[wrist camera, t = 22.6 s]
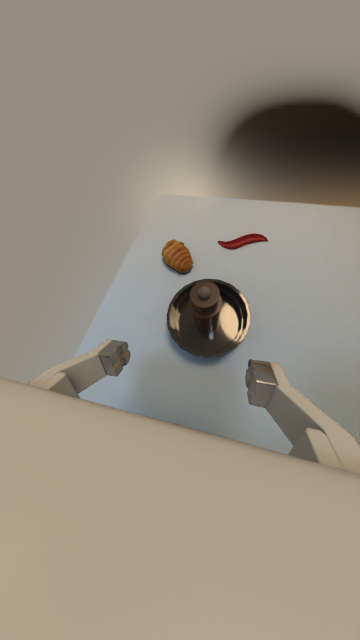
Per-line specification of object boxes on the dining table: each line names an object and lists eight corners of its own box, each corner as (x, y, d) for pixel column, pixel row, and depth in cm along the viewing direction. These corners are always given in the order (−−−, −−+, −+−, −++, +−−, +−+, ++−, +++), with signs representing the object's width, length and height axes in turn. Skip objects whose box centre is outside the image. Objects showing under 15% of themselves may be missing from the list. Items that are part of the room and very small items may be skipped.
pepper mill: (207, 305, 34) (204, 266, 20) (224, 321, 32) (233, 288, 18) (190, 320, 33) (177, 290, 20) (206, 337, 31) (203, 316, 18)
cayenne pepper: (216, 248, 38) (216, 242, 37) (219, 234, 40) (220, 228, 38) (266, 251, 35) (269, 245, 33) (268, 236, 36) (271, 229, 34)
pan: (207, 277, 36) (207, 265, 32) (262, 321, 31) (270, 314, 26) (159, 320, 35) (152, 314, 31) (206, 374, 30) (205, 376, 26)
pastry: (200, 264, 38) (198, 254, 34) (179, 280, 38) (175, 271, 34) (180, 244, 41) (176, 233, 38) (160, 258, 41) (155, 248, 38)
